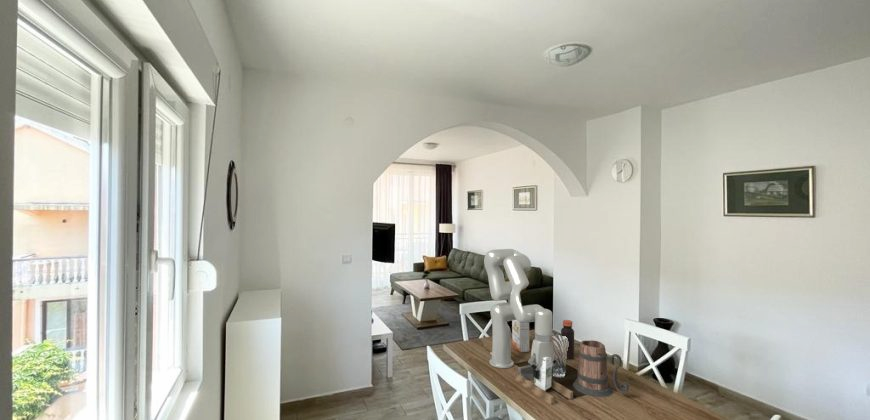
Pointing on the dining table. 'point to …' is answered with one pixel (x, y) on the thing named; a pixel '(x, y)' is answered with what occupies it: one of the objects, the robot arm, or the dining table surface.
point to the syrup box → (544, 374)
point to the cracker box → (520, 335)
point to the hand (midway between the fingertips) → (543, 376)
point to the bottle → (569, 334)
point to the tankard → (596, 370)
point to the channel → (527, 374)
